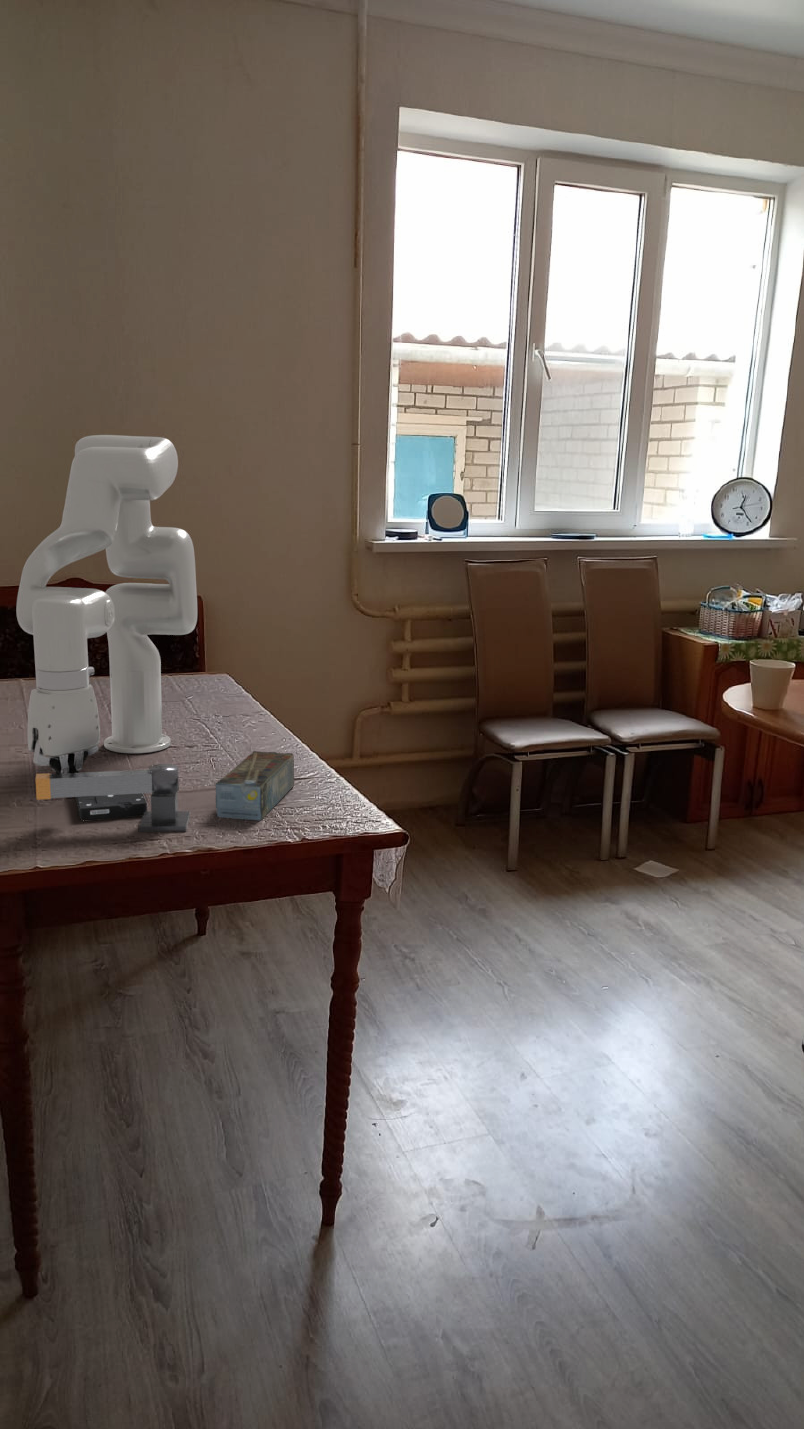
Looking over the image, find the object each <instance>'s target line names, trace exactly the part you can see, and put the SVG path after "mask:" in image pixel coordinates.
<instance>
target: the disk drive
mask: <svg viewBox="0 0 804 1429" xmlns="http://www.w3.org/2000/svg"><path fill="white" fill-rule="evenodd" d="M74 799H75V803H76V807H77V811H78V815H79V816H78V817H79V819H81V820H82V821H81V820H80V821H81V822H86V821H85V820H91V821H98V820H97V819H102V820H111V819H112V820H113V819H121V818H122V819H124V818H125V819H126V818H133V817H134V818H135V817H143V815H144V812H145V811H148V803H147V799H146V798H145V795H144V793H140V794H121V795H101V796H82V797H74ZM83 820H84V821H83Z"/></svg>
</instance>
